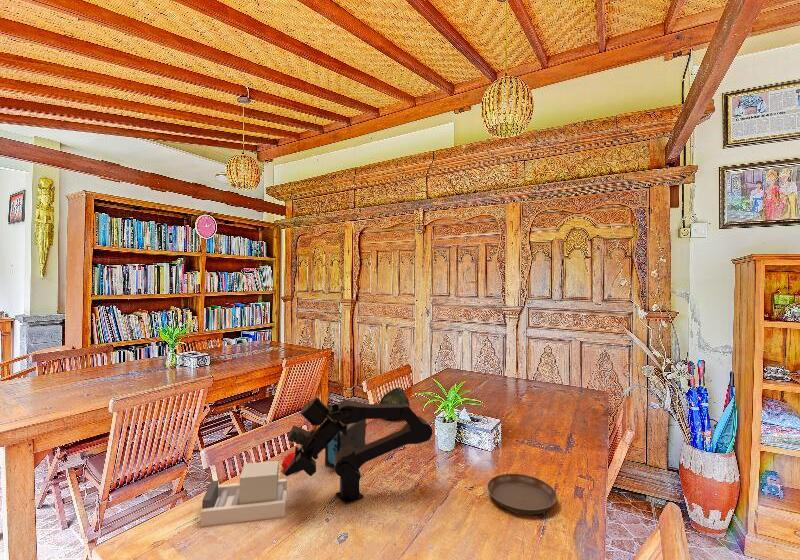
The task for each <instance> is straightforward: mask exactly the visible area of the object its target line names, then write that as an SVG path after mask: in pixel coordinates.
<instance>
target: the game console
mask: <svg viewBox="0 0 800 560" xmlns="http://www.w3.org/2000/svg"><path fill="white" fill-rule="evenodd" d="M340 422H341V421H340ZM341 423H342V422H341ZM342 424H343V423H342ZM367 426H368V424H367V419H365V420H362V421H360V422H357V423H352V424H347V435H346V436H345V435H344V434H343V433H342V432H341V431H340V432H339V433H338V435H337V436H336V437H335V438H334V439H333V440H332V441H331V442H330V443H329V444H328V448H327V449H324V467H325V466H326V467H329V468H335V466H334V456H335V454H336V453H337V452H338V451H340V448H344V447H347V446H348V445H350V444H352V445H353V448H360V447H362V446H365V445H366V434H367Z"/></svg>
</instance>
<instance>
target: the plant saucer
mask: <svg viewBox="0 0 800 560" xmlns="http://www.w3.org/2000/svg"><path fill="white" fill-rule="evenodd" d="M486 487H487V491H488V493H489V495H490V496H491V498H492V499H493V500H494V502H495V503H496V504H498V505H499V506H500V507H502V508H503V509H505V510H507V511H509V512H512V513H515V512H516V513H515V514H519V513H520V514H519V515H525V514H527V515H528V516H529V515H530V516H531V515H533V516H534V514H535V515H539V514H543V513H545V512H547V511H548V510H550V509H551V508H552V507H553V506H555V504H556V501H557V499H558V495H557V492H556V491H555V489H554V488H553V486H551V485H550V484H548V483H547V482H545V481H544V480H541V479H540V478H537V477H534V476H531V475H528V474H527V475H526V474H520V473H504V474H500V475H496V476H494V477H492V478H490V480H489V481H488V483H487V486H486ZM527 515H526V516H527Z"/></svg>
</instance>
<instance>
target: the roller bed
mask: <svg viewBox="0 0 800 560" xmlns="http://www.w3.org/2000/svg"><path fill="white" fill-rule="evenodd" d="M239 488H240V482H238V483H229V484H227V483H226V484H218V498H217V501H216V503H215V506H214V507H213V508H204V509H202V508H201V511H200V527H208V526H209V527H210V526H215V525H226V524H233V523H244V522H251V521H259V520H261V521H262V520H270V519H278V518H279V519H280V518H284V517H285V518H286V508H287V496H288V495H287V494H288V478H282V479H281V478H280V479H279V478H278V493H277V501H270V502H261V503H251V504H242V505H239Z"/></svg>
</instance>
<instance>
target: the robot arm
mask: <svg viewBox="0 0 800 560" xmlns="http://www.w3.org/2000/svg"><path fill="white" fill-rule="evenodd" d="M299 414H300V415H301V416H302V417H303V418H304V419H305V420H306V421H308V422H309V424H310V425H312V426H313V427H314V426H316V427H317V428H316V429H315V428H314V429H311V431H307V430H306V429H304V428H301V427H299V426H297V425H292V427H291V429H290V431H289V433H288V438H287V440H288V441H289V442H291V443H295V444H298V445H299V446H297V445H296V446H295V448H294V449H295V450H294V452H295V456H294V458H293V459H292V461H291V463H290V464H289V466H288V467H287V469H286V471H284V473H283V475H284V476H286V477H289V476H291V475H293V474H296V473H298V472H301V471H303V472H304V473H306V474H307V475H308V476H309V477H313V475H314V474H315V473H316V472H317V462H316V461H317V459H318V458H319V455H320V453H321V452H322V451H323V450H325V449H327V448H328V444H329V443H330V442H331V441H332V440H333V439H334V438H335V437H336V436H337V435H338V433H339V432H340V431H341V432H342V433H343V434H344V435H345V436H346V435H347V424H352V423H357V422H360V421H362V420H365V419H366V420H377V419H378V420H382V419H383V420H386V419H387V420H393V419H394V420H396V419H403V420H404V421H405V422H406V424H405V425H404V426H403V427H402V428H401V429H400V430H397V431H395V432H393V433H390V434H388V435H385V436H384V437H380V438H379V439H377V440H374V441H372V442H369V443H367V444H365V446H362V447H360V448H353V445H352V444H350V445H348V446H347V447H344V448H340V451H338V452H337V453H336V454H335V456H334V466H335V467H334V470H335V473H336V475H337V476H339V477H340V478H339V491H338V492H336V493H335V496H336V497H337V498H338V499H339V500H340V501H342V502H343V503H344V504H346V505H347V504H351V503H352V502H355V501H357V500H360V499H362V498H364V494H362V493H361V492H360V482H361V477H362V476H361V472H360V468H361V467H362V466H363V465H364V464H366V463H368V462H369V461H372V460H374V459H376V458H379V457H380V456H383V455H385V454H388V453H390V452H392V451H395V450H396V449H398V448H402V447H403V446H407V445H419V444H421V443H426V442H428V441H430V440H431V438H432V436H433V429H432V426H431V425H430V423H428V422H427V420H426V419H425V418H423V417H421V416H418V415H417V414H416V413H415V412H414V410H412V408H410V405H409V406H408V405H407V404H406V403H401V404H380V403H375V404H374V403H373V404H372V403H371V404H370V403H362V402H359V401H355V400H351V399H350V400H349V399H344V400H341V401H340V402H339V403H335V404H331V405H330V404H329V405H326V404H325V403H323V401H321V399H320V397H318V396H315V398H313V399H311V400H310V401H307V403H305V405H303V407H302V409H301V410H300V412H299ZM395 418H396V419H395ZM341 422H342V423H343V424H342V423H341Z"/></svg>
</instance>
